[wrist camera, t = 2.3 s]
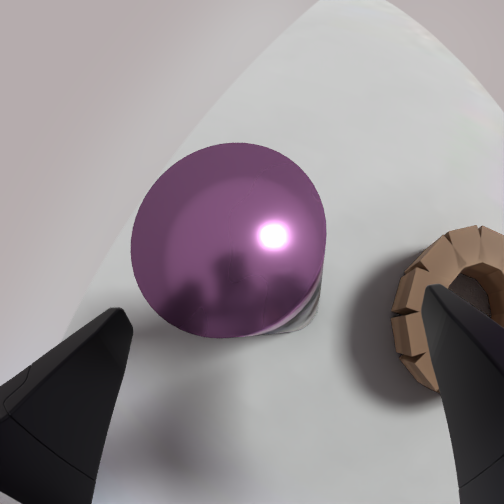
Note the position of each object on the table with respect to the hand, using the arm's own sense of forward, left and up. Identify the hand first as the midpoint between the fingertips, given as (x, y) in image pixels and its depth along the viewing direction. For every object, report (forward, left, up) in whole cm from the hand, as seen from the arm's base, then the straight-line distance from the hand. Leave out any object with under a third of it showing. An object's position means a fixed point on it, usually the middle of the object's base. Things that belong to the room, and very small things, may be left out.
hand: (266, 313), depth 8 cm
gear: (-2, -10, -9) cm, 14 cm away
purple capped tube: (+1, 0, -9) cm, 9 cm away
